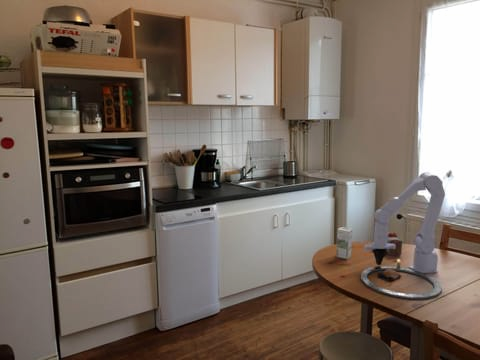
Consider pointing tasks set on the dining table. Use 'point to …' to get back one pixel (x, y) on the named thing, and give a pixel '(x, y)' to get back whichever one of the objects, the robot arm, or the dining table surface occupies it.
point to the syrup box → (344, 243)
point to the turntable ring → (433, 293)
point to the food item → (395, 240)
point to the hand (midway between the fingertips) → (378, 264)
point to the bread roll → (389, 275)
